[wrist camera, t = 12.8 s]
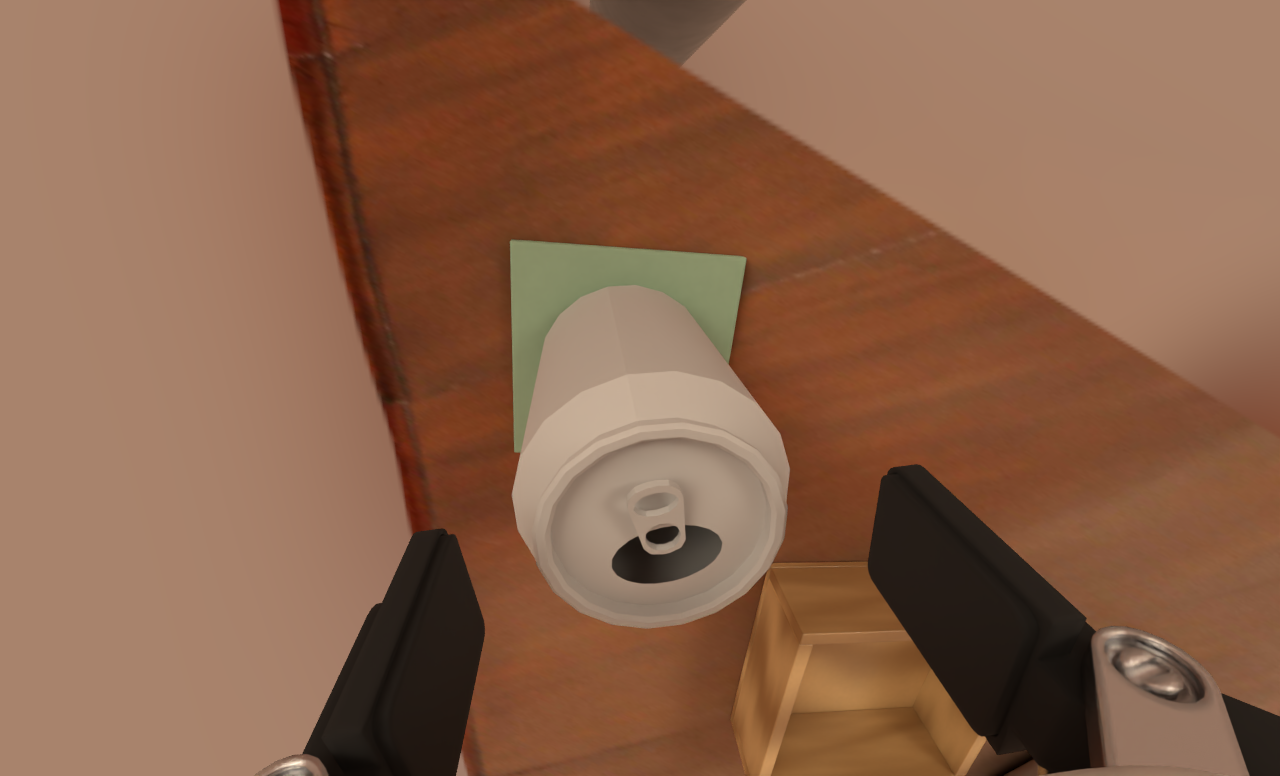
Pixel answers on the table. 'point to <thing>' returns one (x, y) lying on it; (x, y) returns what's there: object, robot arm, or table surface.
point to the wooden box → (841, 684)
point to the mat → (574, 270)
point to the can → (646, 466)
